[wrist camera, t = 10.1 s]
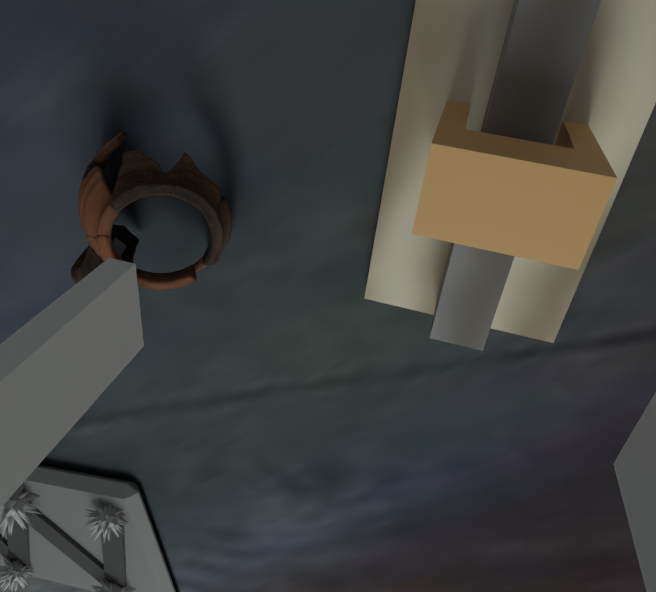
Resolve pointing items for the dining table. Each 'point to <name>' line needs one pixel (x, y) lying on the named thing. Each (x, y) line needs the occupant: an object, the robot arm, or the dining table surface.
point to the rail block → (511, 121)
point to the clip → (514, 191)
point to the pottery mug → (132, 184)
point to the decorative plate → (80, 534)
